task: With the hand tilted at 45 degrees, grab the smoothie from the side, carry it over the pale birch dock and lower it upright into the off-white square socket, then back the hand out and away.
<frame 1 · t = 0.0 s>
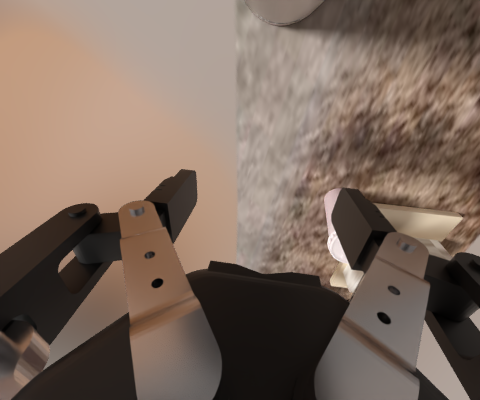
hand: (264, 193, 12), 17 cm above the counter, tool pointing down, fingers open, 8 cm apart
smoothie: (336, 197, 31), on the counter
dock: (382, 252, 36), on the counter
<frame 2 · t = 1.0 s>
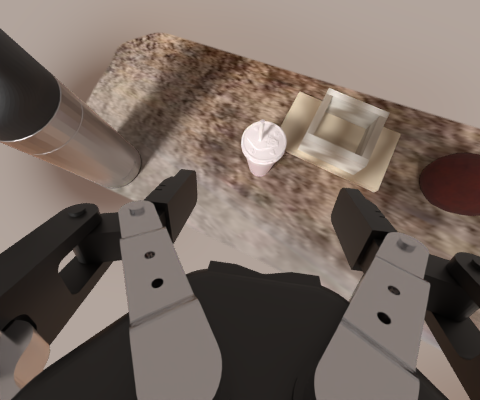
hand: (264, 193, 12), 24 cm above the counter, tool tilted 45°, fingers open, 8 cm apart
smoothie: (259, 167, 38), on the counter
potato: (437, 193, 36), on the counter
dock: (333, 141, 38), on the counter
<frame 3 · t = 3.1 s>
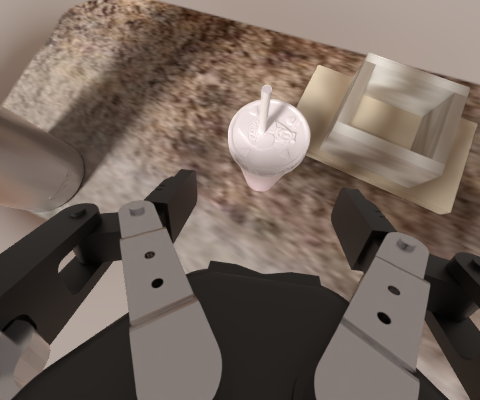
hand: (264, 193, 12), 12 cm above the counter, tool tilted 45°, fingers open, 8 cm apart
smoothie: (261, 177, 25), on the counter
dock: (371, 136, 26), on the counter
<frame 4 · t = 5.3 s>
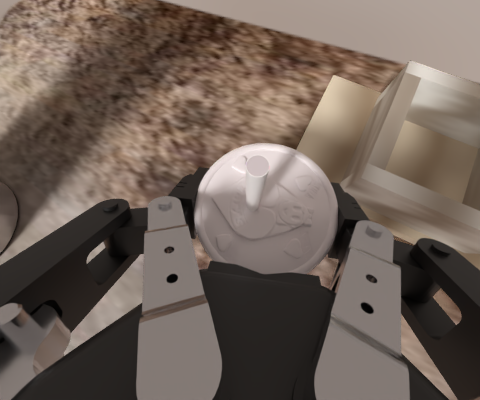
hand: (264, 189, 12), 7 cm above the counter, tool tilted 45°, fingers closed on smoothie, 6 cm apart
smoothie: (256, 229, 18), on the counter, touching gripper
dock: (406, 172, 19), on the counter
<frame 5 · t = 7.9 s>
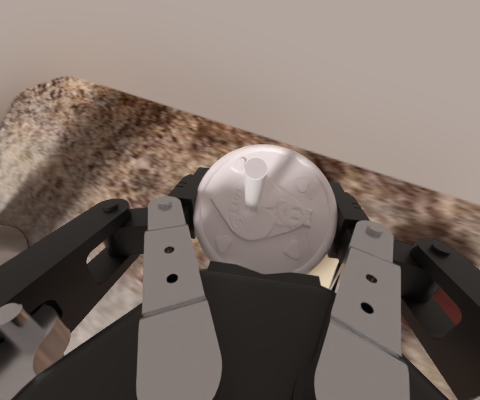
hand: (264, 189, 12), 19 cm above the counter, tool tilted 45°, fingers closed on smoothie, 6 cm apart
smoothie: (255, 229, 18), point 11 cm above the counter, touching gripper
potato: (407, 291, 28), on the counter
dock: (274, 219, 30), on the counter
when the fingers open (9 cm above the counter, at t = 10.4 s): smoothie drops 1 cm, resting on dock.
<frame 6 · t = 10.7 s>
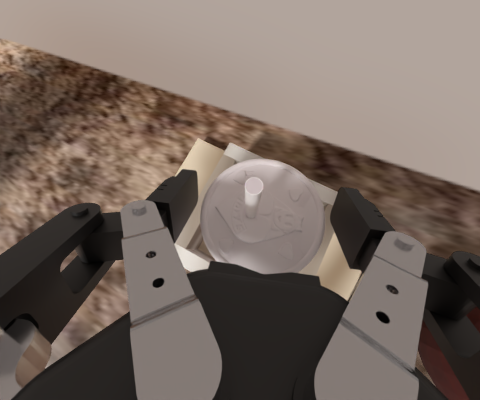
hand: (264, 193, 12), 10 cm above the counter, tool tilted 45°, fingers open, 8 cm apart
smoothie: (254, 233, 20), point 1 cm above the counter, touching dock
potato: (453, 347, 18), on the counter
dock: (255, 231, 21), on the counter
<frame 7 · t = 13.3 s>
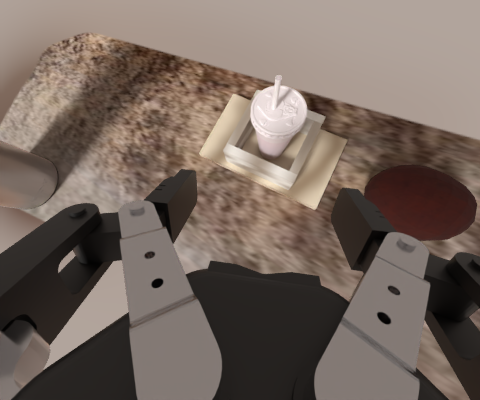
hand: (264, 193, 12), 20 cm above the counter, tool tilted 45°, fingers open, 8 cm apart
smoothie: (271, 148, 32), point 1 cm above the counter, touching dock
potato: (390, 210, 30), on the counter
dock: (271, 150, 33), on the counter
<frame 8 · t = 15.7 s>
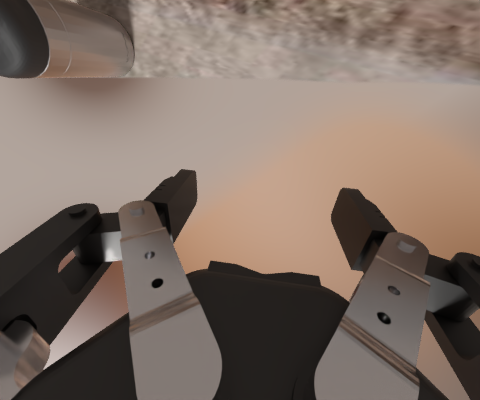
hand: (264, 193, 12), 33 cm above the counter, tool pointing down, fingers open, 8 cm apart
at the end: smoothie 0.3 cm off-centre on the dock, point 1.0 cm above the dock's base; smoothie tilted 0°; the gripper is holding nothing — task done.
